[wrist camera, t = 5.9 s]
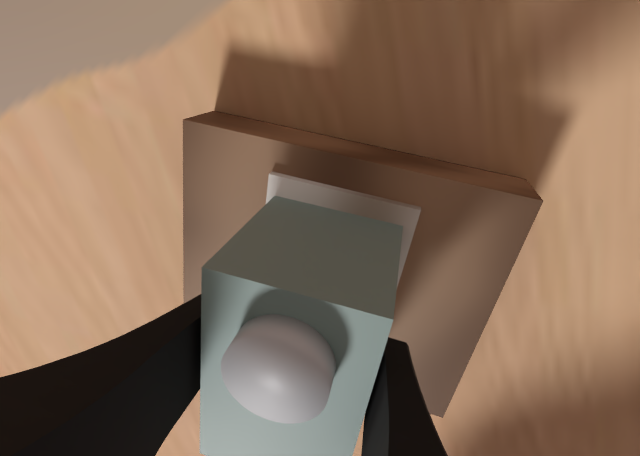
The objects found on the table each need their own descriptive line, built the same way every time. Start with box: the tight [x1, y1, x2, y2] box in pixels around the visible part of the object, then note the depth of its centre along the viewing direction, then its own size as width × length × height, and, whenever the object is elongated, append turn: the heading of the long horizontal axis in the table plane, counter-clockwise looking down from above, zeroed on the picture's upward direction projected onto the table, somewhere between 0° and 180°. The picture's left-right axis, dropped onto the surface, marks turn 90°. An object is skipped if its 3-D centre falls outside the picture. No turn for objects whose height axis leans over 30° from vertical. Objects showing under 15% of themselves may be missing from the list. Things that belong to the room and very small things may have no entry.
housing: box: [200, 196, 403, 456], centre depth 12 cm, size 7×4×6 cm, turn 171°
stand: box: [183, 111, 543, 418], centre depth 15 cm, size 12×10×2 cm
